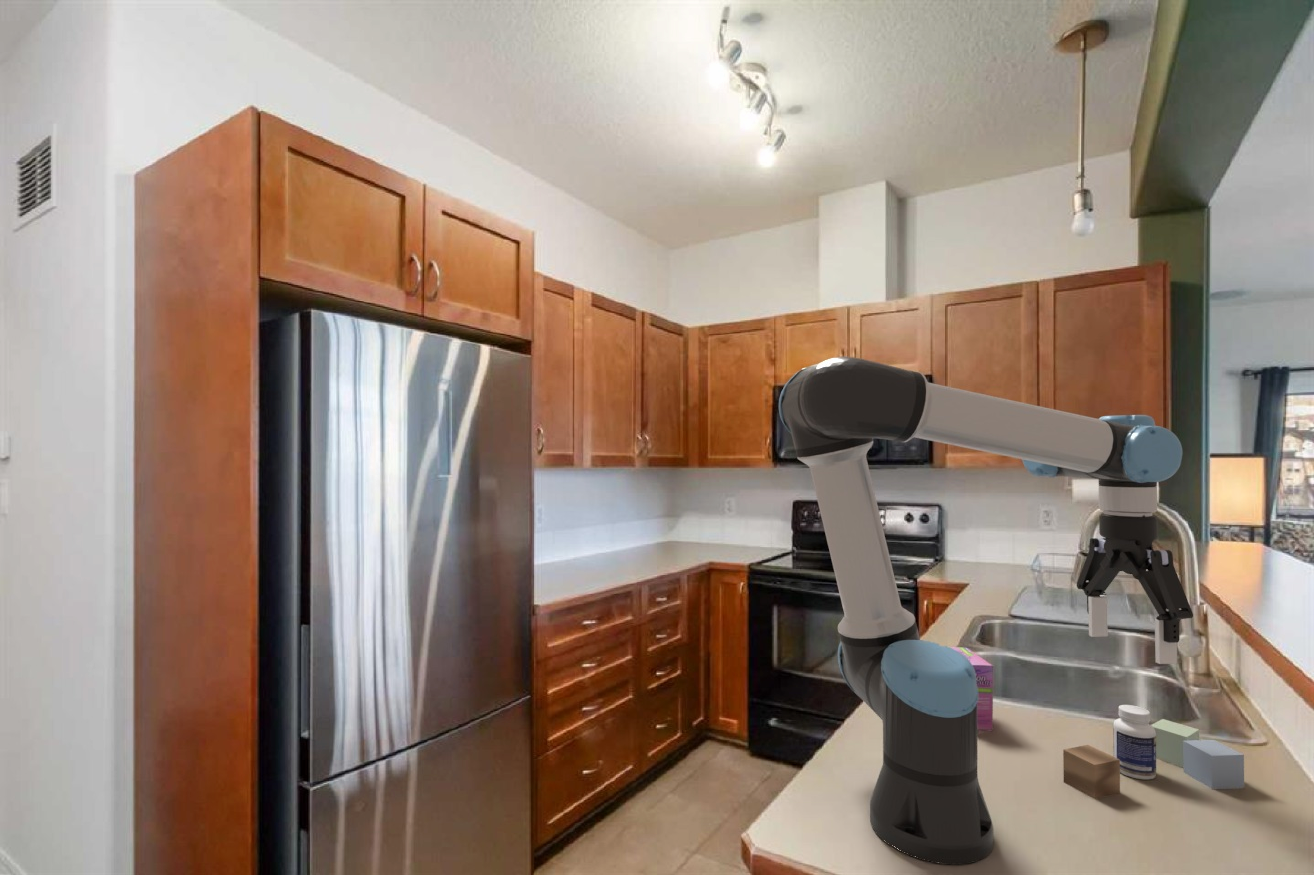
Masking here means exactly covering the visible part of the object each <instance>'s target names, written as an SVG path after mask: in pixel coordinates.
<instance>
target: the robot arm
mask: <svg viewBox="0 0 1314 875" xmlns="http://www.w3.org/2000/svg"><path fill="white" fill-rule="evenodd" d="M778 398H779V399H778V411H779V412H778V413H779V417H780V420H781V422H782V424H783V425H784V427H785V430H787V431H788V433H790V434H791V438H792V442H793V446H794V450H795V454H796V457H797V460H799V461H800V462H801V463H803V464H805V465H806V466H807V467H808V468H809V471H810V475H811V478H812V483H813V488H814V491H815V496H816V500H817V504H818V509H819V513H820V517H821V522H822V526H823V530H824V533H825V538H826V542H827V546H828V549H829V550H828V551H829V554H830V559H831V563H832V568H833V571H834V572H833V573H834V576H835V580H836V585H837V588H838V592H839V597H840V602H841V605H842V609H843V613H844V616H843V617H842V619H841V621H840V622H839V623H838V625H837V631H838V636H839V640H840V642H839V643H838V648H837V663H838V666H839V669H840V673H841V675H842V677H843V679H844V681H845V683H846V684H847V686H848V687H849V688H850V690H851V691H852V692H853V693H855V694H856V696H857V697H858V698H859V699H861V700H862V701H863V702H864V703H865V704H866V705H867V706H868V707H869V708H870V710H872V711H873V713H875V714H876V715H877V717H878V718H879V719H880V720H882V721H881V722H882V749H883V750H882V757H883V758H882V766H881V768H880V772H879V774H878V778H877V780H876V783H875V785H874V789H873V792H872V794H871V797H870V803H869V819H870V820H869V821H870V826H871V828H872V829H873V831H874V832H875V834H876V835H878V837H879V838H880V839H881V838H882V839H881V840H882V841H884V840H885V841H886V842H887V843H886V842H885V841H884V842H885V843H886V844H888V843H889V844H890V845H889V844H888V845H889V846H891V845H893V846H895V847H896V848H898V849H899V850H901V851H903V852H905V853H908V854H909V855H908V854H907V855H908V856H910V855H912V856H911V857H913V856H916V857H918V858H917V859H919V858H920V859H919V860H922V859H925V860H924V861H926V860H929V861H928V862H930V861H933V862H932V863H935V862H939V863H938V864H942V863H944V864H943V865H964V864H971V863H975V862H978V861H981V860H983V859H984V858H986V857H987V856H989V855H990V853H991V852H992V850H993V848H994V826H993V821H992V818H991V815H990V812H989V809H988V806H987V804H986V801H985V797H984V794H983V791H982V788H981V785H980V783H979V779H978V731H977V702H978V695H979V694H978V687H977V682H976V674H975V670H974V667H973V666H972V664H971V662H970V661H969V660H968V659H967V658H966V657H965V656H963V655H962V654H961V653H959V652H958V651H956V650H954V649H952V648H949V647H950V646H947V645H940V644H939V643H937V642H933V641H930V640H928V641H927V640H923V639H921V638H920V634H919V629H918V626H917V622H916V617H915V615H914V613H912V612H910V611H909V610H907V609H906V608H904V607H903V606H902V603H901V598H900V595H899V591H898V587H897V586H898V585H897V582H896V578H895V575H894V570H893V564H892V561H891V557H890V552H889V548H888V544H887V543H888V542H887V541H886V537H885V536H886V535H885V532H884V528H883V523H882V519H881V514H880V510H879V507H878V501H877V497H876V493H875V489H874V484H873V480H872V476H871V471H870V469H869V468H870V467H869V464H868V460H867V453H868V451H870V448H871V447H872V446H873V444H874V440H873V439H879V440H880V439H881V440H889V441H893V442H900V443H907V442H909V441H911V440H912V439H913V438H915V439H916V438H917V439H921V440H925V441H931V442H936V443H941V444H944V445H945V444H946V445H951V446H955V447H961V448H965V449H968V450H969V449H970V450H976V451H980V452H985V453H990V454H994V455H995V454H996V455H999V456H1006V457H1009V458H1014V459H1020V460H1021V461H1022V463H1023V466H1024V468H1025V469H1026V470H1027V472H1028V473H1029V474H1031V475H1032V476H1036V477H1048V478H1055V477H1059V478H1060V477H1061V478H1062V477H1065V478H1066V477H1067V478H1068V477H1069V478H1071V477H1072V478H1079V479H1080V478H1083V479H1097V480H1098V509H1099V510H1100V511H1103V513H1100V514H1099V517H1098V519H1099V521H1098V525H1099V527H1098V528H1099V529H1098V530H1099V535H1100V536H1101V537H1094V538H1093V537H1092V538H1090V539H1089V548H1088V552H1087V555H1086V558H1085V560H1084V563H1083V565H1082V566H1083V567H1081V568H1082V569H1081V571H1080V574H1079V577H1078V579H1077V582H1076V588H1077V589H1078V590H1082V591H1083V592H1084V594H1085V595H1086V611H1087V614H1088V636H1089V637H1091V638H1093V637H1094V638H1095V637H1096V638H1097V637H1098V638H1099V637H1108V635H1109V632H1108V597H1107V596H1106V595H1107V593H1106V591H1107V589H1108V587H1109V586H1110V585H1111V583H1112V582H1113V581H1114V580H1115V579H1116V578H1117V576H1118V575H1119V573H1120V572H1124V573H1125V574H1127V575H1132V577H1133V579H1136V580H1138V582H1139V583H1140V585H1141V586H1142V589H1143V590H1144V592H1145V594H1146V595H1147V597H1148V600H1150V602H1151V604H1152V606H1153V608H1154V610H1156V612H1157V614H1158V616H1157V617H1154V643H1155V644H1154V646H1155V648H1154V649H1155V650H1154V651H1155V652H1154V653H1155V655H1154V656H1155V657H1154V659H1155V663H1157V664H1159V665H1168V664H1169V665H1170V664H1175V665H1176V664H1178V643H1179V642H1180V622H1181V620H1187V619H1192V618H1193V617H1194V613H1193V610H1192V608H1191V606H1190V604H1189V601H1188V598H1187V596H1186V593H1185V591H1184V587H1183V585H1182V583H1181V580H1180V578H1179V576H1178V573H1177V571H1176V569H1175V564H1174V557H1173V552H1172V551H1171V550H1170V549H1160V550H1159V549H1158V550H1155V549H1154V546H1153V542H1155V541H1156V540H1157V539H1158V538H1159V522H1158V521H1159V519H1158V517H1157V516H1156V515H1154V514H1155V513H1156V512H1158V483H1160V482H1163V481H1166V480H1168V479H1169V478H1172V476H1174V475H1175V474H1176V473H1177V472H1178V470H1180V469H1179V468H1180V466H1181V465H1182V460H1183V454H1184V453H1183V447H1182V443H1181V441H1180V440H1179V437H1178V436H1177V435H1176V434H1175V433H1174V432H1173V431H1171V430H1169V429H1168V428H1165V427H1163V426H1159V425H1156V422H1155V419H1154V418H1153V417H1152V416H1150V415H1148V414H1130V415H1129V414H1127V415H1125V414H1124V415H1122V414H1121V415H1120V414H1119V415H1104V416H1101V417H1099V418H1097V417H1096V418H1095V417H1091V416H1088V415H1087V416H1086V415H1082V414H1077V413H1073V412H1068V411H1062V410H1058V409H1055V408H1048V407H1044V406H1040V405H1034V404H1031V403H1030V404H1029V403H1026V402H1021V401H1017V400H1011V399H1007V398H1003V397H999V396H998V397H996V396H992V395H988V394H983V393H979V392H976V391H975V392H974V391H969V390H965V389H961V388H955V387H950V386H947V385H943V384H942V385H941V384H936V383H932V382H929V381H928V380H927V378H926V376H925V375H924V374H923V373H921V372H918V371H914V370H909V369H904V368H901V367H896V366H893V365H889V364H885V363H880V362H876V361H873V360H868V359H864V358H859V357H853V356H837V357H831V358H829V359H828V358H827V359H826V360H824V361H821V362H819V363H816V364H812V365H810V366H809V365H808V366H807V367H803V368H801V369H800V370H799V371H797V372H795V373H794V375H793V376H791V378H790V379H789V380H788V381H787V382H786V383H785V384H784V386H783V389H782V390H781V392H780V395H779V397H778ZM896 848H895V849H896ZM899 850H898V851H899ZM901 851H900V852H901ZM903 852H902V853H903ZM905 853H904V854H905ZM916 857H915V858H916ZM945 863H946V864H945Z"/></svg>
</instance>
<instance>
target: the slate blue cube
mask: <svg viewBox="0 0 1314 875" xmlns="http://www.w3.org/2000/svg"><path fill="white" fill-rule="evenodd" d="M1182 768H1183V773H1184V774H1186V775H1187V776H1189V777H1191V778H1192V779H1194V780H1196V781H1198V782H1199V783H1201V784H1203V785H1205V786H1207V787H1208V788H1209V789H1211V790H1222V789H1223V790H1227V789H1245V755H1244V754H1243V753H1241V752H1239V751H1237V750H1235V749H1233V748H1231V747H1229V746H1227V745H1225V744H1223V743H1221V742H1219V741H1217V740H1215V739H1199V740H1188V741H1183V767H1182Z"/></svg>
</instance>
